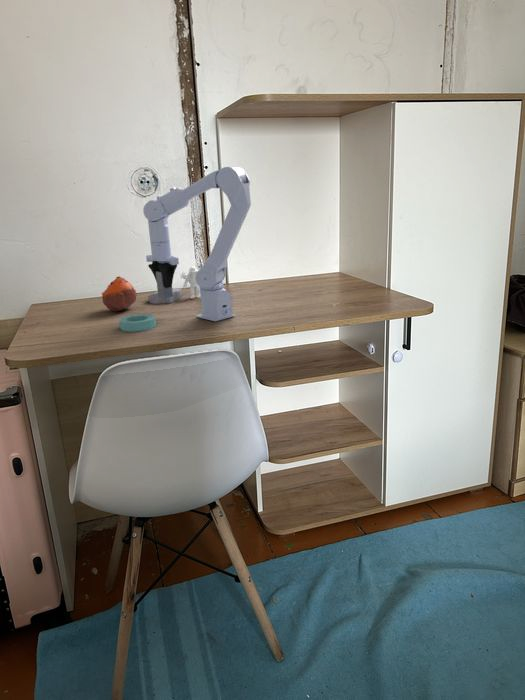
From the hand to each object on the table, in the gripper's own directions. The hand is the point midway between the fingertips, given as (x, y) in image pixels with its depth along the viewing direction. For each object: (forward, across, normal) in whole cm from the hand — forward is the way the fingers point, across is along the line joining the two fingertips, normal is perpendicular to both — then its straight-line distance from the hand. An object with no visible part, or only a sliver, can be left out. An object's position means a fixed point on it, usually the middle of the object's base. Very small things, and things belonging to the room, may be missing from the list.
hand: (164, 286), depth 166 cm
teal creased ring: (+9, +4, -13) cm, 16 cm away
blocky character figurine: (+9, -15, +22) cm, 28 cm away
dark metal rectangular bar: (+3, 0, 0) cm, 3 cm away
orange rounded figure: (+9, -20, -5) cm, 23 cm away
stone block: (+10, -21, +13) cm, 27 cm away
